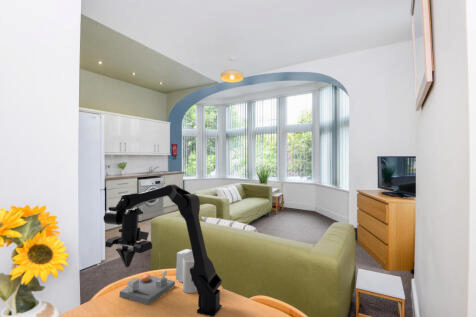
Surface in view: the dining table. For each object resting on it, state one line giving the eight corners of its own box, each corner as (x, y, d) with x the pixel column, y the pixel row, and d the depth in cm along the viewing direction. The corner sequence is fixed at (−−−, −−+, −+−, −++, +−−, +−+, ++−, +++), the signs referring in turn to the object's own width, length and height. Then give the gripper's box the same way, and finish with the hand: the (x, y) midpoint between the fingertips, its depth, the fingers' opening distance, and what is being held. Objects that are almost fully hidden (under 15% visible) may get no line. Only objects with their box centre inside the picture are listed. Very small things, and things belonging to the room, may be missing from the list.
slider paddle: (138, 288, 83) (139, 279, 84) (132, 292, 81) (132, 282, 81) (133, 287, 84) (134, 278, 84) (127, 291, 81) (127, 281, 82)
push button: (151, 279, 91) (152, 275, 91) (146, 282, 88) (146, 278, 88) (146, 277, 92) (146, 273, 93) (140, 281, 89) (140, 277, 90)
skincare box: (185, 275, 100) (186, 248, 101) (192, 277, 98) (193, 249, 99) (175, 280, 95) (176, 252, 96) (182, 283, 93) (183, 254, 94)
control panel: (174, 286, 90) (175, 276, 91) (148, 305, 77) (149, 293, 77) (148, 279, 95) (148, 270, 96) (119, 296, 82) (120, 285, 82)
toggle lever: (164, 283, 88) (168, 270, 88) (161, 286, 86) (165, 272, 86) (160, 281, 89) (165, 268, 89) (157, 283, 87) (161, 270, 87)
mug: (196, 294, 84) (197, 262, 85) (179, 293, 85) (180, 261, 86) (203, 281, 94) (203, 253, 95) (187, 281, 95) (188, 252, 96)
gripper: (162, 224, 90) (161, 263, 89) (129, 219, 97) (127, 256, 96) (141, 230, 80) (139, 274, 78) (105, 225, 87) (103, 265, 85)
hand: (127, 266), depth 85 cm, fingers closed
